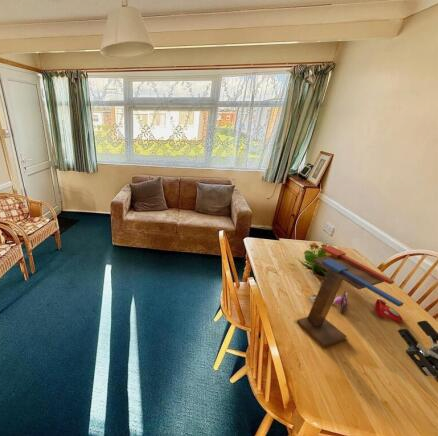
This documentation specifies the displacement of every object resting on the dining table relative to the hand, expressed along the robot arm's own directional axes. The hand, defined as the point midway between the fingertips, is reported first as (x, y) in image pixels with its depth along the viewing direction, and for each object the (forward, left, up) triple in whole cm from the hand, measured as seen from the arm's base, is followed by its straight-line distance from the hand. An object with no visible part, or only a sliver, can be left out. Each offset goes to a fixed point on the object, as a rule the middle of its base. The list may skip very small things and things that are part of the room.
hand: (411, 325), depth 64 cm
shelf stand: (-3, -21, -29) cm, 36 cm away
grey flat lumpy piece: (-16, -34, -29) cm, 47 cm away
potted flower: (-36, -50, -29) cm, 68 cm away
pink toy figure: (-23, -30, -29) cm, 47 cm away
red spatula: (-7, -23, +3) cm, 25 cm away
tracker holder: (-40, -22, -29) cm, 54 cm away
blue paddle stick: (+1, -16, +3) cm, 16 cm away
